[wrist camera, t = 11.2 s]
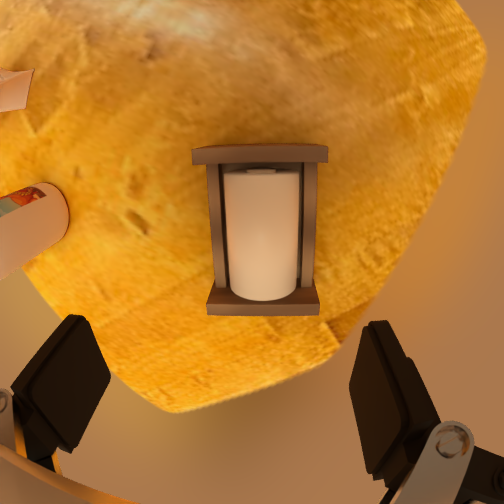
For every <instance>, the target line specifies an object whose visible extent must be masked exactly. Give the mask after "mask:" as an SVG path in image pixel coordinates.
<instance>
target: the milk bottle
mask: <svg viewBox="0 0 504 504" xmlns="http://www.w3.org/2000/svg"><path fill="white" fill-rule="evenodd" d="M68 222H69V213H68V207H67V204H66V201H65V199H64V197H63V195H62V194H61V192H60V191H59V190H58V189H57V188H56V187H54V186H53V185H51V184H48V183H39V184H35V185H32V186H29V187H27V188H24V189H21V190H18V191H16V192H13V193H11V194H8V195H6V196H3V197H1V198H0V281H1V280H2V279H4V278H5V277H7V276H8V275H10V274H11V273H13V272H14V271H16V270H17V269H18V268H20V267H21V266H23V265H24V264H25V263H27V262H28V261H30V260H31V259H33V258H34V257H36V256H37V255H39V254H40V253H41V252H43V251H44V250H46V249H47V248H49V247H50V246H52V245H53V244H55V243H56V242H58V241H59V240H60V239H61V238H62V237H63V236H64V234H65V232H66V230H67V227H68Z"/></svg>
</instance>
